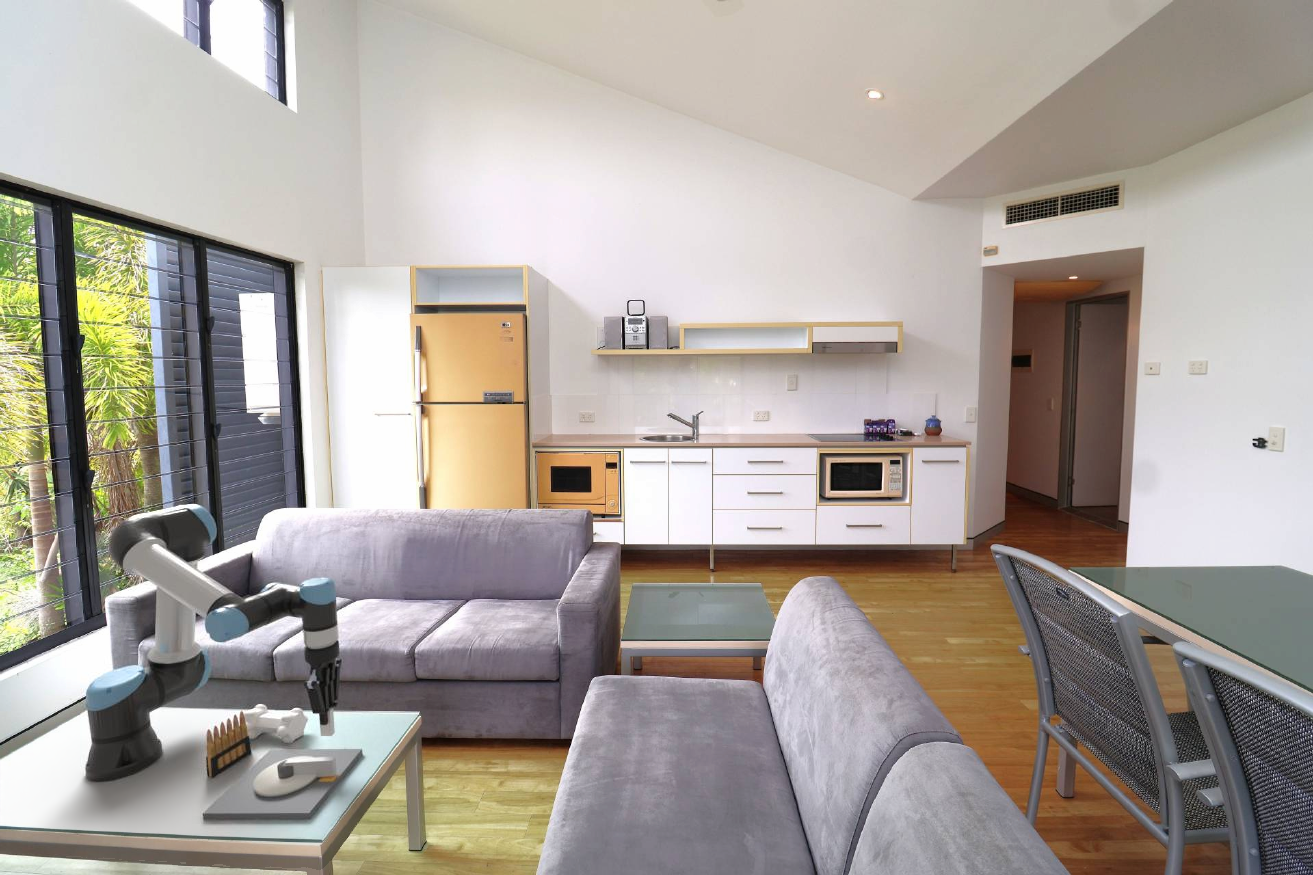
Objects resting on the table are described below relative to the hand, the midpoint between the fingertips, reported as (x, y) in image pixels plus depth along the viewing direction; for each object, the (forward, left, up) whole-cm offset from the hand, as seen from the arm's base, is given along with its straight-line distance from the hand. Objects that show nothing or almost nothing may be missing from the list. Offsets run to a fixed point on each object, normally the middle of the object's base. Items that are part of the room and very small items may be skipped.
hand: (327, 734), depth 159 cm
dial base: (-7, -6, -9) cm, 13 cm away
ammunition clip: (-27, +2, -9) cm, 28 cm away
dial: (-5, -6, -7) cm, 11 cm away
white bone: (-23, +14, -9) cm, 29 cm away
